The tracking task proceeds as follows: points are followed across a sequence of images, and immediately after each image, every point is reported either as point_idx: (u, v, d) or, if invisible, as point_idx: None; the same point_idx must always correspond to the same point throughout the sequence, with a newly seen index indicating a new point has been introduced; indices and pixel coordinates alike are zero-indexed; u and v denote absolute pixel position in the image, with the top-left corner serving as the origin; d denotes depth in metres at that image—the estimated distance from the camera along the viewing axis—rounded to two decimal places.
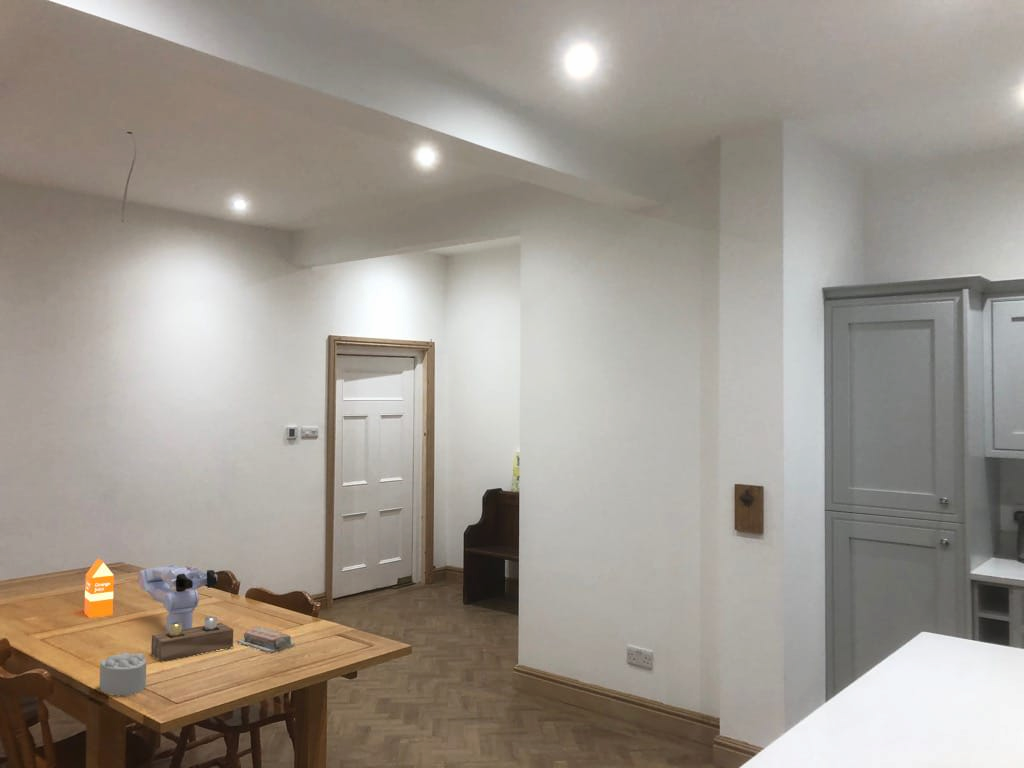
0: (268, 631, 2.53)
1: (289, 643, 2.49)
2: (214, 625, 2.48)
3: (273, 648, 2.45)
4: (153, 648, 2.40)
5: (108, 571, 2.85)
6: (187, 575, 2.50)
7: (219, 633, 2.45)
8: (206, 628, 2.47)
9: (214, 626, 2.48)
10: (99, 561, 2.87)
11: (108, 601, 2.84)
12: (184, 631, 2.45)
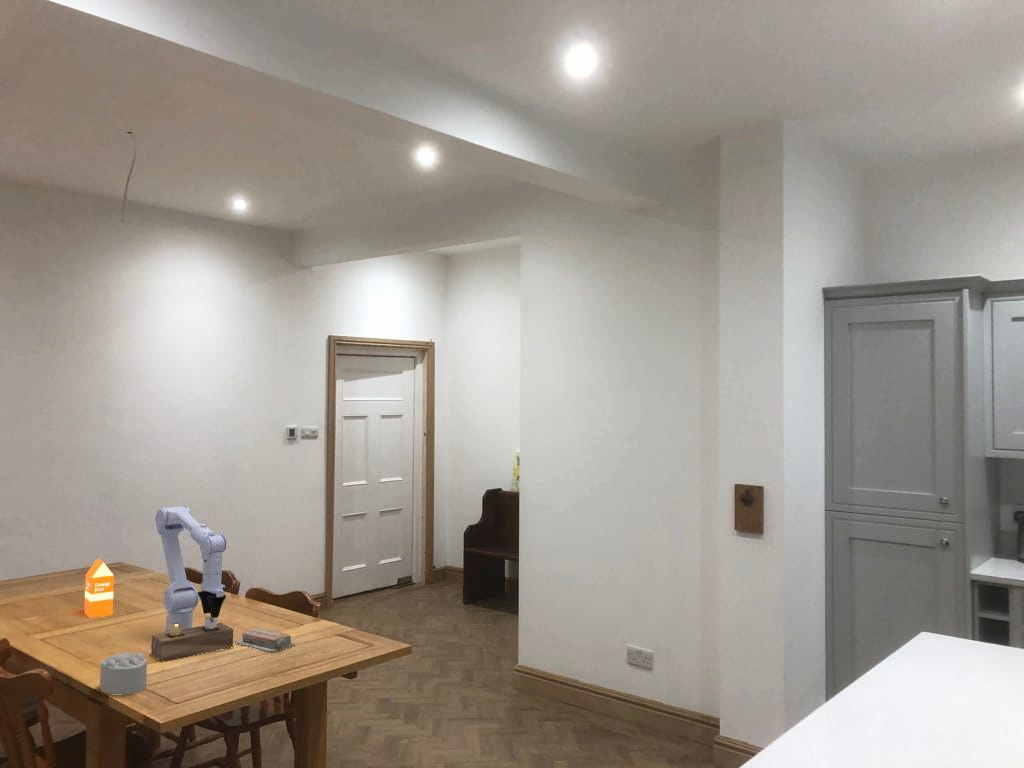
0: (267, 631, 2.53)
1: (289, 643, 2.50)
2: (214, 625, 2.48)
3: (274, 648, 2.46)
4: (153, 648, 2.40)
5: (108, 571, 2.85)
6: (220, 589, 2.49)
7: (219, 633, 2.45)
8: (206, 628, 2.47)
9: (214, 626, 2.48)
10: (99, 561, 2.87)
11: (108, 601, 2.84)
12: (184, 631, 2.45)
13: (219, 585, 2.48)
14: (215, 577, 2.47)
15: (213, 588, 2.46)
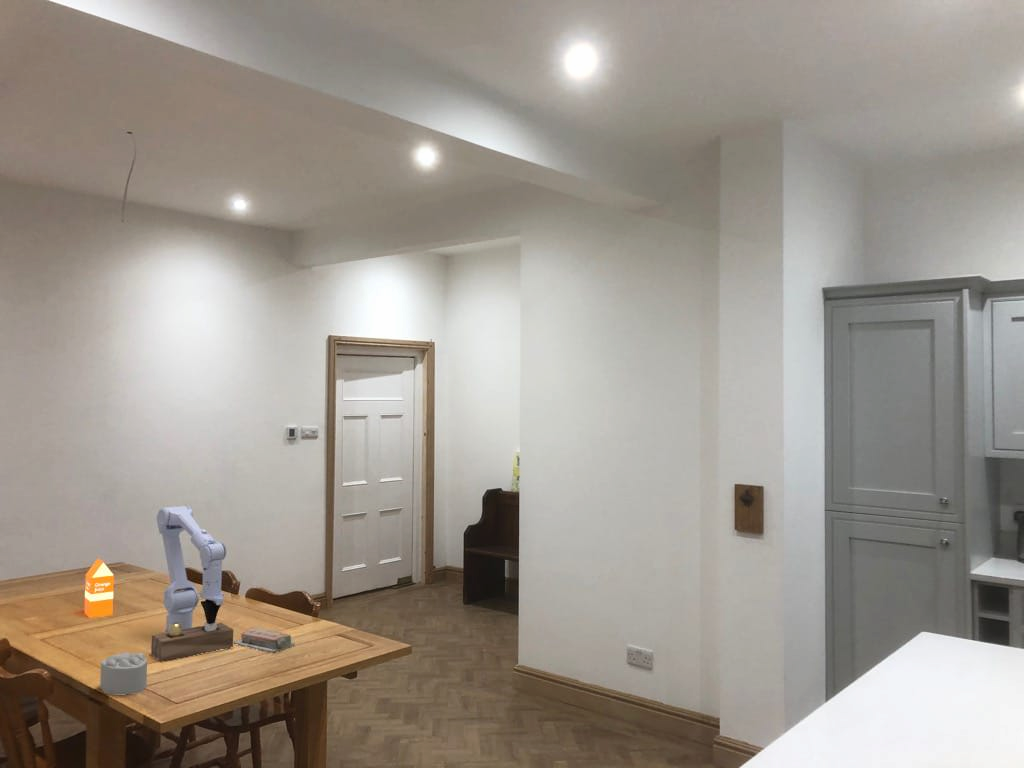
0: (266, 631, 2.53)
1: (289, 643, 2.50)
2: None
3: (275, 648, 2.46)
4: (153, 648, 2.40)
5: (108, 571, 2.85)
6: (219, 597, 2.48)
7: (219, 633, 2.45)
8: None
9: None
10: (99, 561, 2.87)
11: (108, 601, 2.84)
12: (184, 631, 2.45)
13: (219, 593, 2.48)
14: (215, 585, 2.47)
15: (213, 596, 2.46)
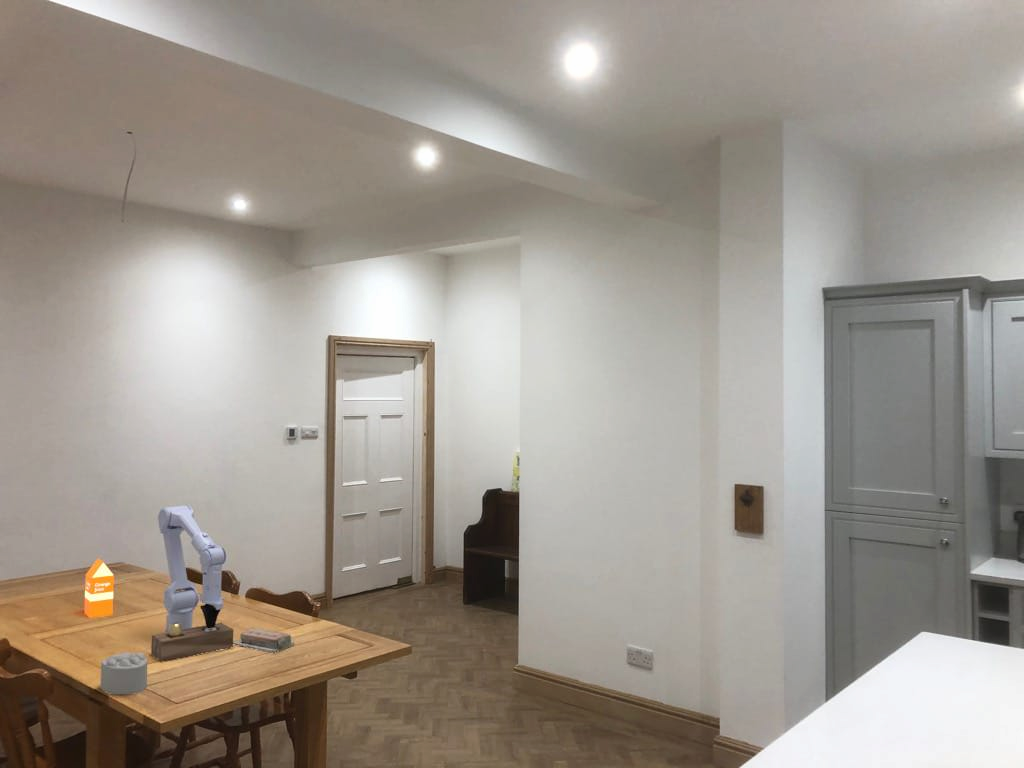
0: (266, 631, 2.53)
1: (289, 642, 2.50)
2: None
3: (275, 648, 2.46)
4: (153, 648, 2.40)
5: (108, 571, 2.85)
6: None
7: (219, 633, 2.45)
8: None
9: None
10: (99, 561, 2.87)
11: (108, 601, 2.84)
12: (184, 631, 2.45)
13: (219, 597, 2.48)
14: (215, 589, 2.47)
15: (213, 600, 2.46)
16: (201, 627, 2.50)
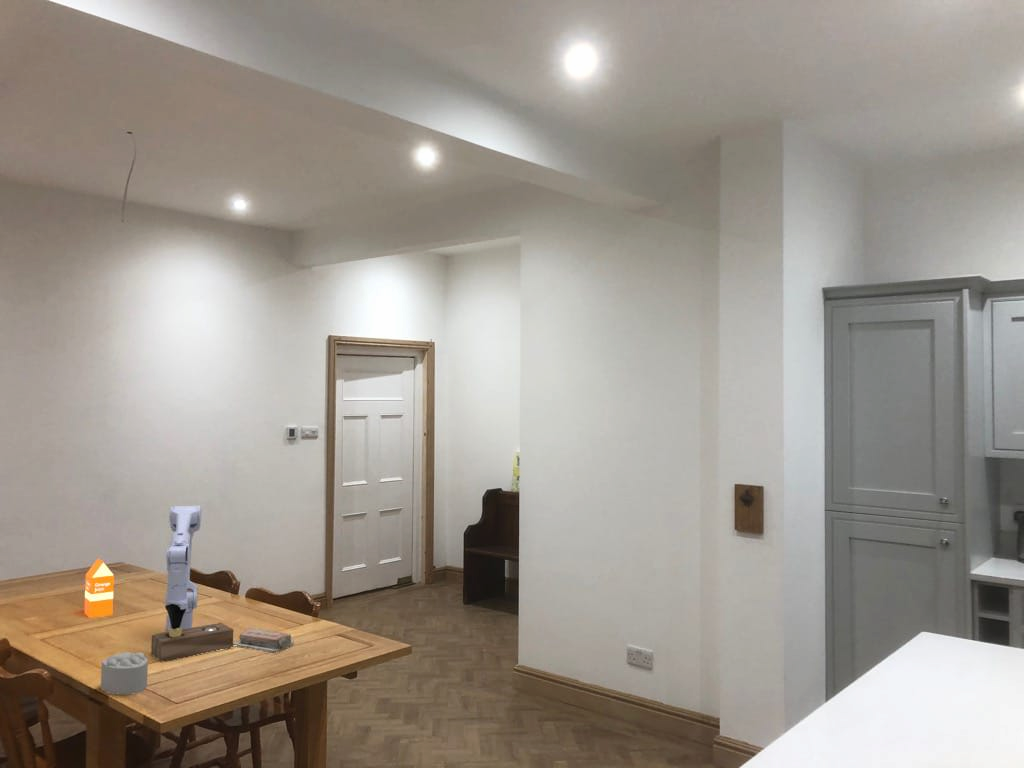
0: (265, 632, 2.52)
1: (289, 642, 2.51)
2: None
3: (276, 648, 2.46)
4: (153, 648, 2.40)
5: (108, 571, 2.85)
6: (184, 601, 2.41)
7: (219, 633, 2.45)
8: None
9: None
10: (99, 561, 2.87)
11: (108, 601, 2.84)
12: (184, 631, 2.45)
13: (184, 597, 2.41)
14: (180, 589, 2.39)
15: (177, 600, 2.39)
16: (201, 627, 2.50)
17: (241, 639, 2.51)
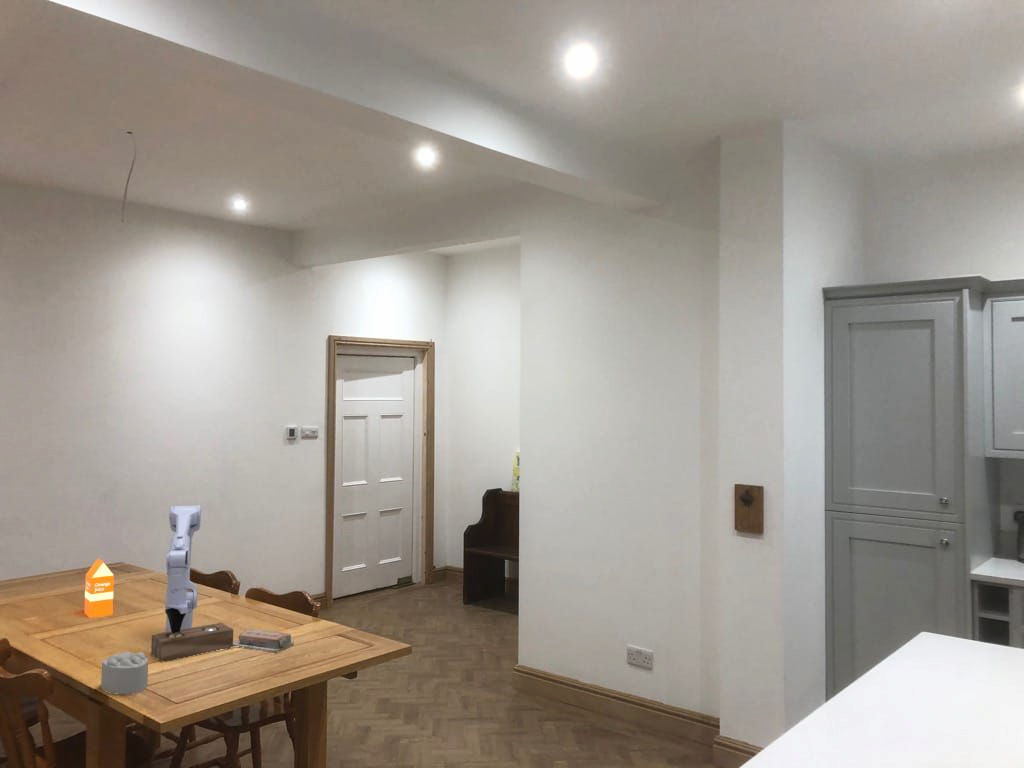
0: (265, 632, 2.52)
1: (289, 642, 2.51)
2: None
3: (277, 648, 2.46)
4: (153, 648, 2.40)
5: (108, 571, 2.85)
6: None
7: (219, 633, 2.45)
8: None
9: None
10: (99, 561, 2.87)
11: (108, 601, 2.84)
12: (184, 631, 2.45)
13: (184, 601, 2.41)
14: (179, 593, 2.39)
15: (177, 604, 2.39)
16: (201, 627, 2.50)
17: (240, 639, 2.50)
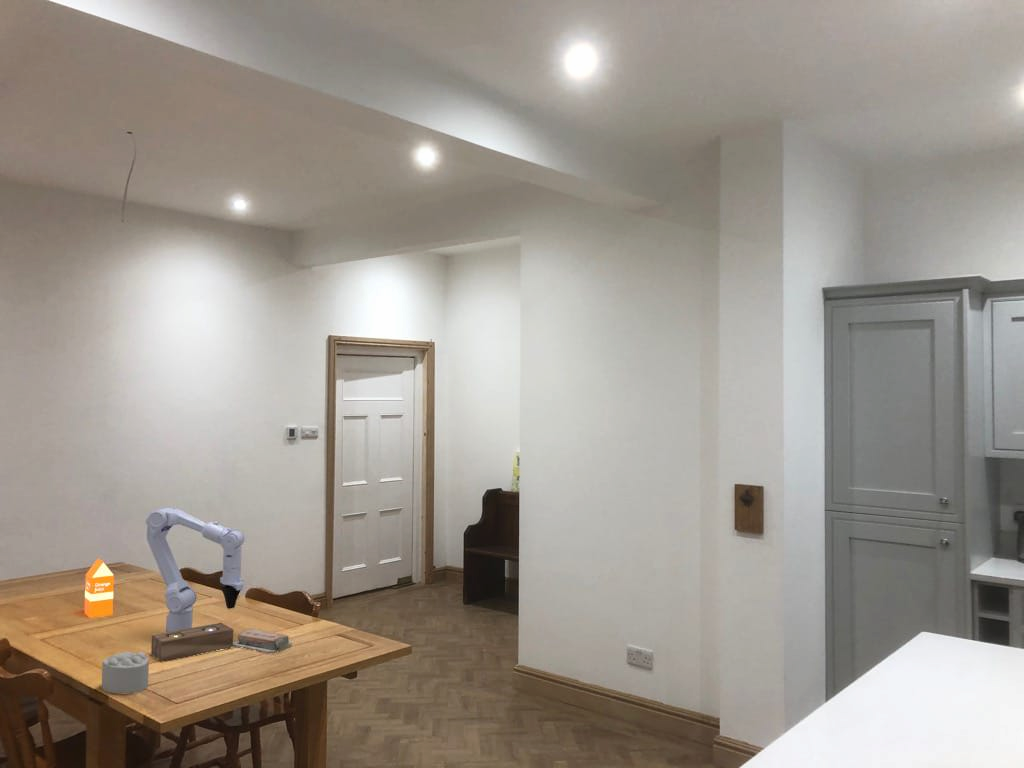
0: (263, 632, 2.52)
1: (287, 643, 2.50)
2: None
3: (273, 649, 2.45)
4: (153, 648, 2.40)
5: (108, 571, 2.85)
6: (239, 583, 2.58)
7: (219, 633, 2.45)
8: None
9: None
10: (99, 561, 2.87)
11: (108, 601, 2.84)
12: (184, 631, 2.45)
13: (238, 579, 2.58)
14: (235, 571, 2.56)
15: (233, 582, 2.56)
16: (201, 627, 2.50)
17: (239, 639, 2.50)
